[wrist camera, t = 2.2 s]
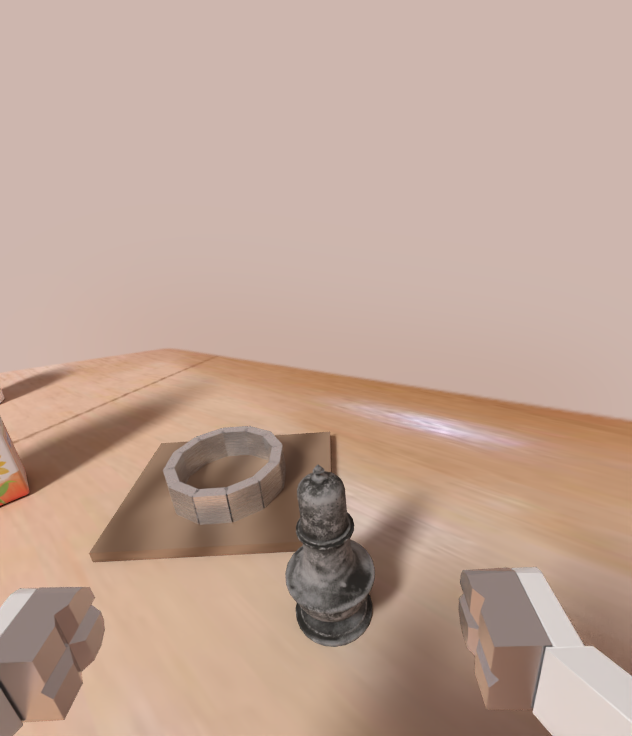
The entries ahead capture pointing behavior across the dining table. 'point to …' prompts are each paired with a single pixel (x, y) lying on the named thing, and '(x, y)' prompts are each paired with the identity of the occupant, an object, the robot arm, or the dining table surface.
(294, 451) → the walnut board
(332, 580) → the salt shaker
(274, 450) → the steel collar
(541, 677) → the robot arm
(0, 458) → the cracker box
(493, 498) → the dining table surface
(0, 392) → the white cup
